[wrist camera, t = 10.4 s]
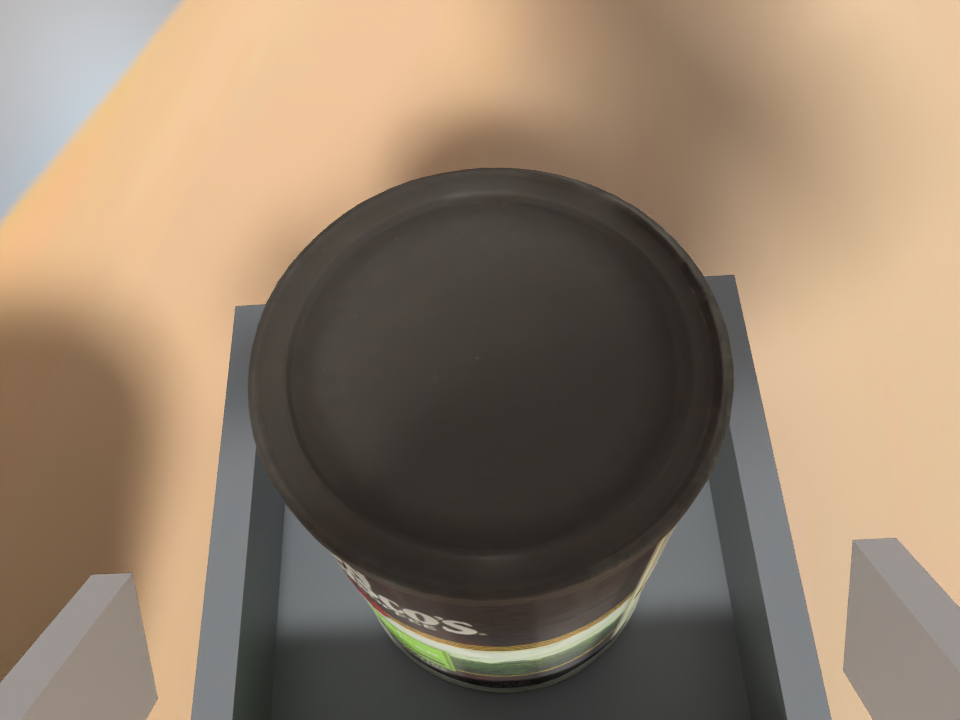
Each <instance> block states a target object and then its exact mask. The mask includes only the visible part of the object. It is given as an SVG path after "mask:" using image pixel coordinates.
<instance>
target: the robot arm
mask: <svg viewBox="0 0 960 720" xmlns="http://www.w3.org/2000/svg"><path fill="white" fill-rule="evenodd" d="M843 671H844V673H845V674H846V676H847V678H848V679H849V681H850V683H851V684H852V686H853V687H854V689H855V691H856V692H857V694H858V696H859V697H860V699H861V701H862V702H863V704H864V706H865V707H866V709H867V710H868V712H869V714H870V715H871V717H872V719H873V720H960V607H959V606H958V605H957V604H956V603H955V602H954V601H953V600H952V599H951V598H950V596H949V595H948V594H947V593H946V592H945V591H944V590H943V589H942V588H941V587H940V586H939V584H938V583H937V582H936V581H935V580H934V579H933V578H932V577H931V576H930V575H929V573H928V572H927V571H926V570H925V569H924V568H923V567H922V566H921V565H920V564H919V563H918V561H917V560H916V559H915V558H914V557H913V556H912V555H911V554H910V553H909V552H908V550H907V549H906V548H905V547H904V546H903V545H902V544H901V543H900V542H899V541H898V539H897V538H883V539H862V540H853V543H852V557H851V570H850V584H849V597H848V611H847V624H846V638H845V651H844V665H843ZM157 699H158V696H157V691H156V686H155V681H154V676H153V672H152V667H151V662H150V657H149V652H148V647H147V642H146V637H145V632H144V627H143V622H142V618H141V613H140V608H139V603H138V598H137V593H136V588H135V583H134V578H133V573H119V574H97V575H91V576H90V577H89V578H88V580H87V581H86V582H85V583H84V584H83V586H82V587H81V588H80V589H79V590H78V591H77V593H76V594H75V595H74V596H73V597H72V599H71V600H70V601H69V602H68V603H67V604H66V606H65V607H64V608H63V609H62V610H61V612H60V613H59V614H58V615H57V616H56V617H55V619H54V620H53V621H52V622H51V623H50V625H49V626H48V627H47V628H46V629H45V630H44V632H43V633H42V634H41V635H40V636H39V638H38V639H37V640H36V641H35V642H34V643H33V645H32V646H31V647H30V648H29V649H28V651H27V652H26V653H25V654H24V655H23V656H22V658H21V659H20V660H19V661H18V662H17V664H16V665H15V666H14V667H13V668H12V669H11V671H10V672H9V673H8V674H7V675H6V677H5V678H4V679H3V680H2V681H1V682H0V720H146V719H147V717H148V715H149V713H150V712H151V710H152V708H153V706H154V704H155V703H156V701H157Z"/></svg>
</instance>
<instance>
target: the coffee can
mask: <svg viewBox="0 0 960 720" xmlns="http://www.w3.org/2000/svg"><path fill="white" fill-rule="evenodd" d="M733 393H734V365H733V358H732V352H731V346H730V340H729V335H728V330H727V327H726V324H725V321H724V319H723V316H722V313H721V310H720V308H719V305H718V303H717V301H716V298H715V296H714V294H713V292H712V290H711V288H710V286H709V284H708V283H707V281H706V279H705V278H704V276H703V275H702V273H701V271H700V270H699V269H698V267H697V266H696V265H695V263H694V262H693V260H692V259H691V258H690V256H689V255H688V254H687V253H686V252H685V250H684V249H683V248H682V247H681V246H680V245H679V244H678V243H677V241H676V240H675V239H674V238H673V237H672V236H671V235H669V234H668V233H666V231H665V230H664V229H663V228H662V227H661V226H660V225H658V224H657V223H656V222H655V221H654V220H652V219H651V218H650V217H648V216H647V215H646V214H644V213H643V212H642V211H640V210H639V209H637V208H636V207H634V206H633V205H631V204H629V203H627V202H625V201H623V200H622V199H620V198H619V197H617V196H615V195H613V194H611V193H608V192H606V191H604V190H601V189H599V188H597V187H595V186H592V185H589V184H587V183H584V182H581V181H578V180H574V179H571V178H567V177H564V176H560V175H557V174H552V173H546V172H541V171H536V170H525V169H514V168H477V169H467V170H459V171H454V172H447V173H441V174H437V175H432V176H428V177H424V178H420V179H416V180H412V181H409V182H406V183H404V184H401V185H398V186H396V187H393V188H391V189H388V190H386V191H384V192H382V193H380V194H378V195H376V196H374V197H371V198H369V199H367V200H365V201H364V202H362V203H360V204H358V205H357V206H355V207H354V208H352V209H351V210H349V211H348V212H346V213H345V214H343V215H342V216H341V217H339V218H338V219H337V220H335V221H334V222H333V223H332V224H330V225H329V226H328V227H327V228H326V229H325V230H323V231H322V232H321V233H320V234H319V235H318V236H317V237H316V238H315V239H314V240H313V241H312V242H311V243H310V244H309V245H308V246H307V247H305V248H304V250H303V251H302V252H301V253H300V254H299V255H298V257H297V258H296V259H295V260H294V261H293V262H292V263H291V265H290V266H289V267H288V269H287V270H286V272H285V273H284V275H283V276H282V277H281V279H280V280H279V281H278V283H277V285H276V287H275V288H274V290H273V292H272V294H271V296H270V298H269V299H268V301H267V303H266V305H265V308H264V310H263V312H262V315H261V318H260V321H259V323H258V325H257V331H256V334H255V338H254V341H253V345H252V350H251V357H250V363H249V374H248V408H249V416H250V422H251V428H252V433H253V437H254V441H255V444H256V447H257V450H258V453H259V455H260V458H261V461H262V463H263V466H264V468H265V470H266V472H267V474H268V476H269V478H270V480H271V481H272V483H273V485H274V486H275V488H276V489H277V491H278V493H279V494H280V496H281V498H282V499H283V501H284V503H285V505H286V506H287V507H288V508H289V509H290V511H291V512H292V513H293V514H294V515H295V517H296V518H297V519H298V520H299V521H300V523H301V524H302V525H303V526H304V527H305V528H306V529H307V530H308V531H309V532H310V534H311V535H312V536H313V537H314V538H315V539H316V540H317V541H318V542H320V543H321V544H322V545H323V546H324V547H325V548H326V549H328V550H329V551H330V553H331V554H332V555H333V557H334V558H335V559H336V561H337V562H338V563H339V565H340V566H341V568H342V569H343V570H344V572H345V573H346V575H347V576H348V578H349V579H350V580H351V581H352V583H353V584H354V585H355V586H356V588H357V589H358V590H359V591H360V593H361V594H362V596H363V597H364V598H365V599H366V601H367V602H368V604H369V605H370V606H371V608H372V609H373V611H374V613H375V615H376V616H377V618H378V620H379V622H380V623H381V625H382V627H383V628H384V630H385V631H386V633H387V634H388V635H389V637H390V638H391V640H392V641H393V642H394V644H395V645H396V646H397V647H398V648H399V649H400V650H401V651H402V652H403V653H404V654H405V655H406V656H408V657H409V658H410V659H411V660H412V661H414V662H415V663H416V664H417V665H419V666H420V667H422V668H424V669H425V670H427V671H428V672H430V673H432V674H433V675H435V676H437V677H439V678H441V679H444V680H446V681H448V682H451V683H453V684H456V685H459V686H462V687H465V688H470V689H474V690H479V691H486V692H497V693H514V692H523V691H529V690H534V689H539V688H543V687H547V686H550V685H552V684H555V683H557V682H560V681H562V680H564V679H566V678H568V677H571V676H572V675H574V674H576V673H578V672H580V671H581V670H582V669H584V668H585V667H587V666H588V665H590V664H591V663H592V662H594V661H595V660H596V659H597V658H598V657H600V656H601V655H602V654H603V653H604V652H605V651H606V650H607V649H608V648H609V647H610V646H611V645H612V644H613V643H614V642H615V641H616V639H617V638H618V637H619V635H620V634H621V633H622V631H623V630H624V628H625V626H626V625H627V623H628V621H629V619H630V617H631V616H632V614H633V612H634V610H635V607H636V605H637V602H638V600H639V597H640V594H641V591H642V589H643V587H644V585H645V583H646V582H647V580H648V578H649V576H650V575H651V573H652V571H653V569H654V567H655V566H656V564H657V562H658V559H659V558H660V556H661V554H662V552H663V550H664V548H665V546H666V544H667V542H668V540H669V538H670V536H671V534H672V533H673V531H674V529H675V527H676V525H677V523H678V522H679V521H680V519H681V518H682V517H683V515H684V514H685V513H686V512H687V510H688V509H689V508H690V506H691V505H692V503H693V502H694V500H695V499H696V497H697V496H698V494H699V493H700V491H701V490H702V488H703V487H704V485H705V484H706V482H707V480H708V479H709V477H710V475H711V473H712V472H713V470H714V467H715V465H716V462H717V459H718V457H719V454H720V451H721V449H722V446H723V443H724V440H725V437H726V434H727V431H728V427H729V423H730V417H731V409H732V402H733Z"/></svg>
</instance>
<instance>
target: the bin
mask: <svg viewBox="0 0 960 720" xmlns="http://www.w3.org/2000/svg"><path fill="white" fill-rule="evenodd" d="M704 278H705V279H706V281H707V283H708V284H709V286H710V288H711V290H712V292H713V294H714V296H715V298H716V301H717V303H718V305H719V308H720V310H721V313H722V316H723V319H724V321H725V324H726V327H727V330H728V335H729V340H730V346H731V352H732V358H733V365H734V393H733V402H732V409H731V417H730V423H729V427H728V431H727V434H726V437H725V440H724V443H723V446H722V449H721V451H720V454H719V457H718V459H717V462H716V465H715V467H714V470H713V472H712V473H711V475H710V477H709V479H708V480H707V482H706V484H705V485H704V487H703V488H702V490H701V491H700V493H699V494H698V496H697V497H696V499H695V500H694V502H693V503H692V505H691V506H690V508H689V509H688V510H687V512H686V513H685V514H684V515H683V517H682V518H681V519H680V521H679V522H678V523H677V525H676V527H675V529H674V531H673V533H672V534H671V536H670V538H669V540H668V542H667V544H666V546H665V548H664V550H663V552H662V554H661V556H660V558H659V559H658V562H657V564H656V566H655V567H654V569H653V571H652V573H651V575H650V576H649V578H648V580H647V582H646V583H645V585H644V587H643V589H642V591H641V594H640V597H639V600H638V602H637V605H636V607H635V610H634V612H633V614H632V616H631V617H630V619H629V621H628V623H627V625H626V626H625V628H624V630H623V631H622V633H621V634H620V635H619V637H618V638H617V639H616V641H615V642H614V643H613V644H612V645H611V646H610V647H609V648H608V649H607V650H606V651H605V652H604V653H603V654H602V655H601V656H600V657H598V658H597V659H596V660H595V661H594V662H592V663H591V664H590V665H588V666H587V667H585V668H584V669H582V670H581V671H580V672H578V673H576V674H574V675H572V676H571V677H568V678H566V679H564V680H562V681H560V682H557V683H555V684H552V685H550V686H547V687H543V688H539V689H534V690H529V691H523V692H514V693H497V692H486V691H479V690H474V689H470V688H465V687H462V686H459V685H456V684H453V683H451V682H448V681H446V680H444V679H441V678H439V677H437V676H435V675H433V674H432V673H430V672H428V671H427V670H425V669H424V668H422V667H420V666H419V665H417V664H416V663H415V662H414V661H412V660H411V659H410V658H409V657H408V656H406V655H405V654H404V653H403V652H402V651H401V650H400V649H399V648H398V647H397V646H396V645H395V644H394V642H393V641H392V640H391V638H390V637H389V635H388V634H387V633H386V631H385V630H384V628H383V627H382V625H381V623H380V622H379V620H378V618H377V616H376V615H375V613H374V611H373V609H372V608H371V606H370V605H369V604H368V602H367V601H366V599H365V598H364V597H363V596H362V594H361V593H360V591H359V590H358V589H357V588H356V586H355V585H354V584H353V583H352V581H351V580H350V579H349V578H348V576H347V575H346V573H345V572H344V570H343V569H342V568H341V566H340V565H339V563H338V562H337V561H336V559H335V558H334V557H333V555H332V554H331V553H330V551H329V550H328V549H326V548H325V547H324V546H323V545H322V544H321V543H320V542H318V541H317V540H316V539H315V538H314V537H313V536H312V535H311V534H310V532H309V531H308V530H307V529H306V528H305V527H304V526H303V525H302V524H301V523H300V521H299V520H298V519H297V518H296V517H295V515H294V514H293V513H292V512H291V511H290V509H289V508H288V507H287V506H286V505H285V503H284V501H283V499H282V498H281V496H280V494H279V493H278V491H277V489H276V488H275V486H274V485H273V483H272V481H271V480H270V478H269V476H268V474H267V472H266V470H265V468H264V466H263V463H262V461H261V458H260V455H259V453H258V450H257V447H256V444H255V441H254V437H253V433H252V428H251V422H250V416H249V408H248V374H249V363H250V357H251V350H252V345H253V341H254V338H255V334H256V331H257V325H258V323H259V321H260V318H261V315H262V312H263V310H264V308H265V305H266V304H263V305H247V306H236V307H235V316H234V325H233V335H232V344H231V353H230V362H229V372H228V381H227V390H226V399H225V409H224V418H223V427H222V436H221V446H220V455H219V464H218V473H217V483H216V492H215V501H214V510H213V520H212V529H211V538H210V547H209V557H208V566H207V575H206V584H205V594H204V603H203V612H202V621H201V631H200V640H199V649H198V658H197V668H196V677H195V686H194V695H193V705H192V714H191V720H832V719H831V715H830V710H829V706H828V701H827V697H826V692H825V687H824V683H823V678H822V674H821V669H820V665H819V660H818V655H817V651H816V646H815V642H814V637H813V633H812V628H811V624H810V619H809V614H808V610H807V605H806V601H805V596H804V592H803V587H802V582H801V578H800V573H799V569H798V564H797V560H796V555H795V550H794V546H793V541H792V537H791V532H790V528H789V523H788V519H787V514H786V509H785V505H784V500H783V496H782V491H781V487H780V482H779V477H778V473H777V468H776V464H775V459H774V455H773V450H772V446H771V441H770V436H769V432H768V427H767V423H766V418H765V414H764V409H763V404H762V400H761V395H760V391H759V386H758V382H757V377H756V372H755V368H754V363H753V359H752V354H751V350H750V345H749V341H748V336H747V331H746V327H745V322H744V318H743V313H742V309H741V304H740V299H739V295H738V290H737V286H736V281H735V277H734V275H722V276H707V277H704Z"/></svg>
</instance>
